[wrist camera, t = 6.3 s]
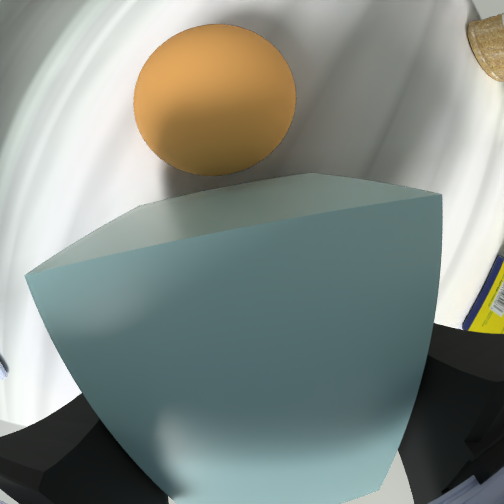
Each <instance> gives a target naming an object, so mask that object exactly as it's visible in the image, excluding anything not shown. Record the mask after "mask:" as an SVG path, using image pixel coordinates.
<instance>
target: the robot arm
mask: <svg viewBox="0 0 504 504" xmlns="http://www.w3.org/2000/svg"><path fill="white" fill-rule="evenodd" d="M7 376H8V375H7V372H6V370H5V369H4V367H3V365H2V364H1V362H0V379H6V378H7ZM398 451H399V454H400V457H401V460H402V462H403V465H404V468H405V471H406V474H407V477H408V481H409V484H410V488H411V492H412V495H413V499H414V504H504V334H493V333H481V332H474V331H467V330H461V329H455V328H451V327H447V326H443V325H439V324H435V323H434V324H433V329H432V335H431V340H430V345H429V350H428V354H427V359H426V363H425V367H424V371H423V375H422V379H421V382H420V386H419V390H418V393H417V396H416V400H415V403H414V406H413V409H412V412H411V415H410V418H409V421H408V424H407V427H406V429H405V432H404V435H403V437H402V440H401V443H400V445H399V448H398ZM0 489H1V490H2V491H4V492H5V493H6V494H7V495H9V496H10V497H11V498H13V499H14V500H15V501H17V502H18V503H19V504H169V503H168V495H167V494H166V493H165V492H164V491H163V490H162V489H161V488H160V487H159V486H157V485H156V484H155V483H154V482H153V481H152V479H151V478H150V477H149V476H148V475H147V474H146V473H145V472H144V471H143V470H142V469H141V468H140V467H139V466H138V465H137V464H136V462H135V461H134V460H133V459H132V458H131V457H130V456H129V455H128V453H127V452H126V451H125V450H124V449H123V448H122V446H121V445H120V444H119V443H118V441H117V440H116V439H115V438H114V436H113V435H112V434H111V433H110V431H109V430H108V429H107V427H106V426H105V425H104V423H103V422H102V421H101V419H100V418H99V417H98V415H97V414H96V412H95V411H94V410H93V408H92V407H91V405H90V404H89V402H88V401H87V399H86V398H85V396H84V395H83V393H81V394H80V395H79V396H77V397H76V398H75V399H73V400H72V401H71V402H69V403H68V404H67V405H65V406H63V407H62V408H60V409H59V410H57V411H56V412H54V413H52V414H51V415H49V416H48V417H46V418H44V419H42V420H40V421H38V422H36V423H35V424H32V425H30V426H28V427H26V428H24V429H21V430H19V431H16V432H14V433H11V434H8V435H5V436H2V437H0ZM0 504H6V503H4V502H3V501H1V500H0Z"/></svg>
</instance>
